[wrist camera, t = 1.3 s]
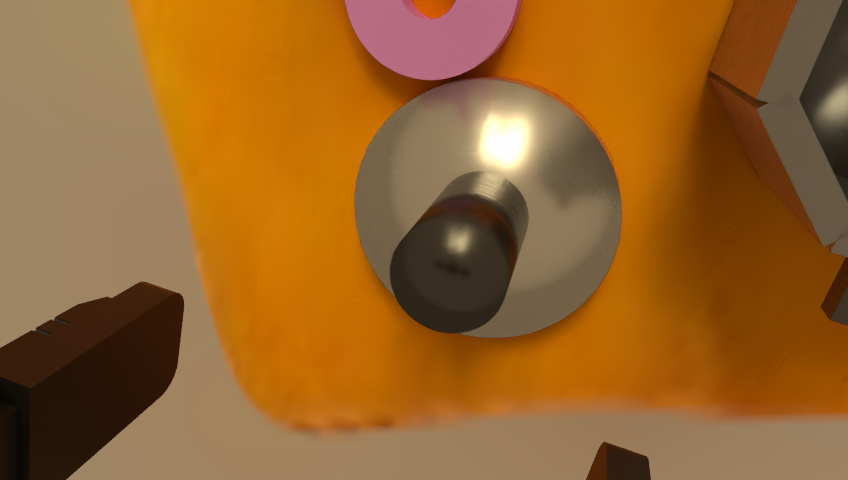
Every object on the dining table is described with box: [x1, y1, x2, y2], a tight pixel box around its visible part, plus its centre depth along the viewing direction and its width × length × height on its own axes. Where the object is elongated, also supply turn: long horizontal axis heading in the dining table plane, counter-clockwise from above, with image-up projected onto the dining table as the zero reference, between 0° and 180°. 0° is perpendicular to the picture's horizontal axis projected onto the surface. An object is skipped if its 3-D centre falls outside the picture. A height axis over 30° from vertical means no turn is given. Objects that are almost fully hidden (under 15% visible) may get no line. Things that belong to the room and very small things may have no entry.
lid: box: [355, 76, 622, 338], centre depth 21 cm, size 9×9×7 cm
